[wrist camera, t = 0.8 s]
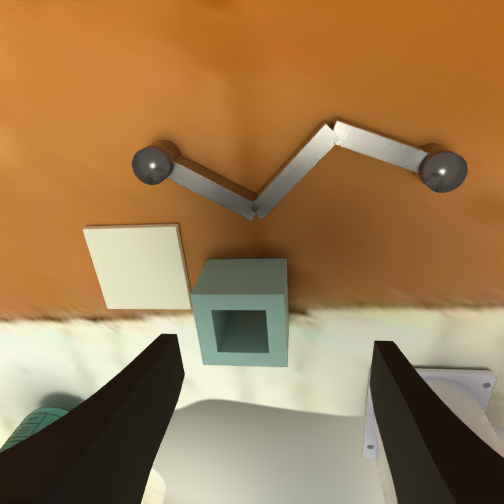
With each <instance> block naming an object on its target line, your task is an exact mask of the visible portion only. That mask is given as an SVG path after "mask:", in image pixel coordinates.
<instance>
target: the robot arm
mask: <svg viewBox="0 0 504 504" xmlns="http://www.w3.org/2000/svg"><path fill="white" fill-rule="evenodd" d="M184 375H185V373H184V368H183V363H182V358H181V353H180V348H179V343H178V338H177V334H161V335H160V336H158V337H157V338H156V339H155V340H154V341H153V342H152V343H151V344H150V345H149V346H148V347H147V348H146V349H145V350H144V351H143V352H141V353H140V354H139V355H138V356H137V357H136V358H135V359H134V360H133V361H132V362H131V363H130V364H129V365H127V366H126V367H125V368H124V369H123V370H122V371H121V372H120V373H119V374H117V375H116V376H115V377H114V378H113V379H111V380H110V381H109V382H108V383H107V384H106V385H104V386H103V387H102V388H101V389H100V390H98V391H97V392H96V393H95V394H93V395H92V396H91V397H89V398H88V399H87V400H85V401H84V402H83V403H81V404H80V405H78V406H77V407H76V408H74V409H73V410H71V411H70V412H68V413H67V414H65V415H64V416H62V417H61V418H59V419H58V420H56V421H54V422H53V423H51V424H50V425H48V426H47V427H45V428H43V429H42V430H40V431H38V432H37V433H35V434H33V435H32V436H30V437H28V438H26V439H25V440H23V441H21V442H19V443H17V444H15V445H14V446H12V447H10V448H8V449H6V450H4V451H2V452H0V504H141V501H142V497H143V494H144V491H145V487H146V484H147V481H148V477H149V474H150V471H151V468H152V465H153V462H154V459H155V457H156V454H157V452H158V449H159V447H160V444H161V442H162V439H163V437H164V434H165V432H166V429H167V427H168V424H169V422H170V419H171V417H172V414H173V412H174V409H175V407H176V404H177V402H178V398H179V395H180V391H181V387H182V383H183V379H184ZM495 381H496V377H495V375H494V373H493V372H491V371H488V370H455V369H419V368H414V367H413V366H412V365H411V363H410V362H409V361H408V360H407V358H406V357H405V356H404V354H403V353H402V352H401V351H400V349H399V348H398V347H397V345H396V344H395V343H394V342H393V341H374V349H373V358H372V366H371V370H370V375H369V385H368V396H367V407H366V417H365V429H364V439H363V449H362V451H363V456H364V457H365V458H368V459H377V464H378V469H379V474H380V479H381V484H382V489H383V494H384V499H385V504H504V448H503V446H502V444H501V442H500V440H499V438H498V436H497V435H496V433H495V431H494V429H493V427H492V426H491V424H490V422H489V420H488V418H487V416H486V415H485V413H486V410H487V407H488V404H489V401H490V397H491V394H492V391H493V388H494V385H495Z"/></svg>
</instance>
